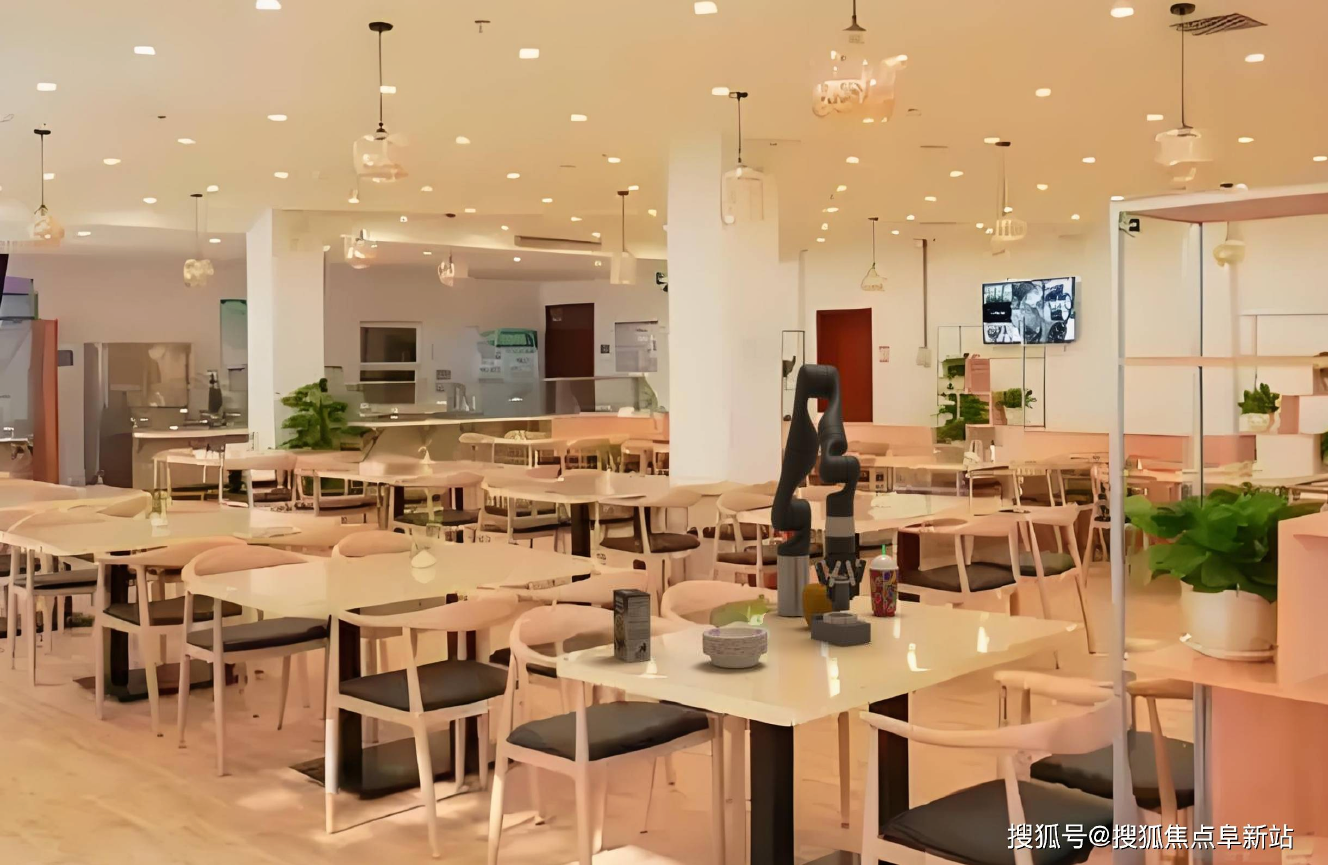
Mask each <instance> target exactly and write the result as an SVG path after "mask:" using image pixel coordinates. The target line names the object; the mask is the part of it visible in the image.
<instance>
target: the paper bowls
mask: <svg viewBox="0 0 1328 865" xmlns="http://www.w3.org/2000/svg"><path fill="white" fill-rule="evenodd" d="M702 653H703V654H704V655H706V656H709V658H710V660H711V662H712V663H713V664H714V666H716V667H719V668H723V669H725V668H726V669H745V668H746V669H747V668H751V667H754V666H756V665H757V664H758V662H759V661H760V658H761V656H762V655H764V654H767V653H768V632H767V630H765V629H763V628H760V627H759V628H758V627H751V626H727V627H726V626H725V627H716V628H711V629H707V630H705V631H703V633H702Z"/></svg>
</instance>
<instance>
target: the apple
mask: <svg viewBox="0 0 1328 865" xmlns="http://www.w3.org/2000/svg"><path fill="white" fill-rule="evenodd" d="M802 607H803V612H804V616H803V617H804V620H805V622H806V623H807V625H808V626H807V627H808V628H810V629H811V615H812V614H820V613H829V612H837V611H835V610H832V602H831V601H829V600H828V599H827V597H826V586H825V585H823V584H820V583H819V582H818V583H817V582H814V583H813V582H812V583H810V584H808V585H806V586H805V587H804V589H803V592H802ZM839 612H841V611H839Z"/></svg>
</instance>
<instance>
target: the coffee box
mask: <svg viewBox="0 0 1328 865" xmlns="http://www.w3.org/2000/svg"><path fill="white" fill-rule="evenodd" d="M612 592H613V594H612V596H613V597H612V598H613V606H612V607H613V656H615V657H617V658H618V659H620V660H622V659H623V660H622V661H624V660H625V661H624V662H626V663H633V662H635V661H637V662H642V661H641V660H648V661H651V657H652V656H651V593H649V592H646V591H643V590H641V589H638V588H631V589H629V588H621V589H613V590H612ZM635 663H636V662H635Z"/></svg>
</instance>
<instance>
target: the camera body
mask: <svg viewBox="0 0 1328 865" xmlns="http://www.w3.org/2000/svg"><path fill="white" fill-rule="evenodd" d="M858 615H859V614H857V613H854V612H853V613H852V612H847V611H840V612H839V611H837V612H829V613H820V614H812V615H811V628H810V639H812V640H815V641H818V640H819V641H820V642H822V641H823V643H826V642H828V643H827V644H830V645H835V646H838V647H842V648H843V647H844V646H845V647H852V646H859V645H858V644H860V645H864V644H865V643H867V644H870V643H869V642H872V640H871V639H872V637H871V633H872V630H871V626H872V624H871V622H867V621H866V619H864V618H859V619H858ZM819 641H818V642H819Z"/></svg>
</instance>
